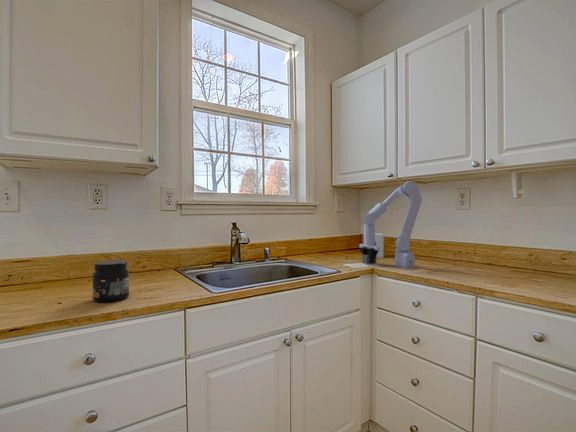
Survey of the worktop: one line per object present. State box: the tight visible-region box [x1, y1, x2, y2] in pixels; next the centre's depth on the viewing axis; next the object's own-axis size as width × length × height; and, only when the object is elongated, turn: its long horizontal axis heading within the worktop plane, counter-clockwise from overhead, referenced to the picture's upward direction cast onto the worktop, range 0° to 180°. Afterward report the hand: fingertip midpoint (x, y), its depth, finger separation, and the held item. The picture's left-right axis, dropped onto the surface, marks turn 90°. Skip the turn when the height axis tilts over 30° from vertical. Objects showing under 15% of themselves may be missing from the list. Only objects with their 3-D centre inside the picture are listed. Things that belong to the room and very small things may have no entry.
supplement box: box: [368, 232, 385, 259], centre depth 202 cm, size 9×9×15 cm
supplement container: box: [91, 259, 130, 304], centre depth 102 cm, size 10×10×12 cm
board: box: [341, 262, 381, 269], centre depth 161 cm, size 11×16×1 cm
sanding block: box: [361, 254, 377, 265], centre depth 163 cm, size 4×6×5 cm, turn 112°
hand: (369, 262), depth 163 cm, fingers closed on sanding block, 4 cm apart
